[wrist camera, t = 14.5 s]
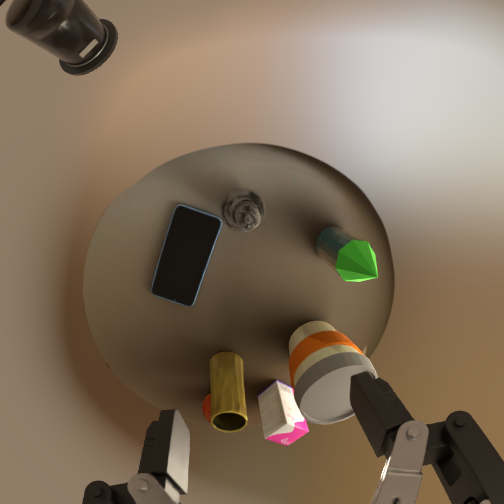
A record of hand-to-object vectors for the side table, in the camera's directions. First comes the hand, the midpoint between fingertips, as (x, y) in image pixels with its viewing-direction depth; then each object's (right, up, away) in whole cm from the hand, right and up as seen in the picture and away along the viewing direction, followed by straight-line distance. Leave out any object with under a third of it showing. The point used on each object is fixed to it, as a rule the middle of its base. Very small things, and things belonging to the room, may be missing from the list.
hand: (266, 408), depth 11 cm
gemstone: (+13, +6, +24) cm, 28 cm away
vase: (-5, -13, +37) cm, 40 cm away
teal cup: (+12, +8, +32) cm, 36 cm away
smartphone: (-11, +6, +31) cm, 33 cm away
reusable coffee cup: (+10, -9, +37) cm, 40 cm away
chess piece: (-2, +14, +30) cm, 33 cm away
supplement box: (+4, -21, +40) cm, 46 cm away
